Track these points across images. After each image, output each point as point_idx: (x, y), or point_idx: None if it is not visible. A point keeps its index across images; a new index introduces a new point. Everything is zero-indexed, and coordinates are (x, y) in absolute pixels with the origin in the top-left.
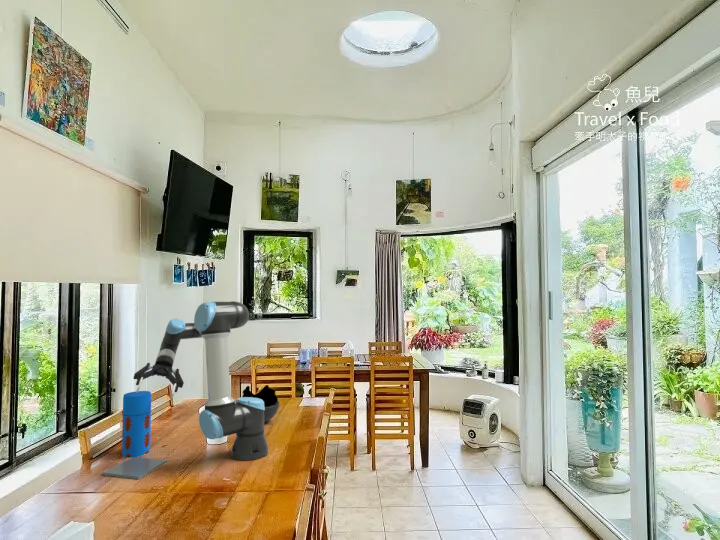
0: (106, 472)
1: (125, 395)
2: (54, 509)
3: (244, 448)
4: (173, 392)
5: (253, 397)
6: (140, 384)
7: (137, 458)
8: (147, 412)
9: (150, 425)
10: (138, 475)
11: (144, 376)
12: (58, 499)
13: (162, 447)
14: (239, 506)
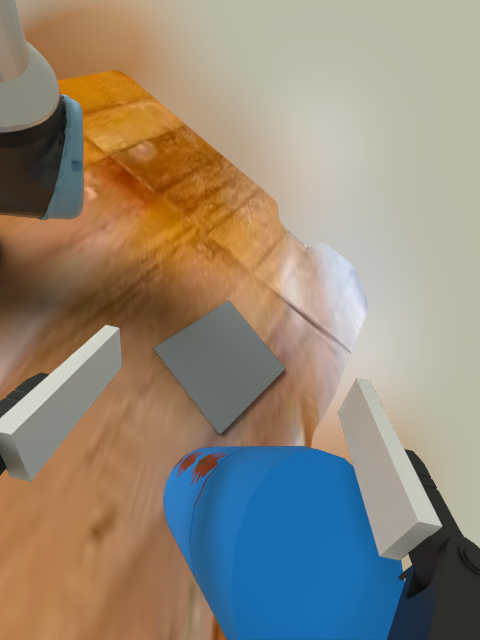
0: (278, 363)
1: None
2: (327, 288)
3: None
4: (103, 332)
5: None
6: (370, 405)
7: (214, 411)
8: (219, 465)
9: (181, 491)
10: (228, 305)
11: (419, 610)
12: (329, 315)
13: (116, 506)
14: (130, 129)
